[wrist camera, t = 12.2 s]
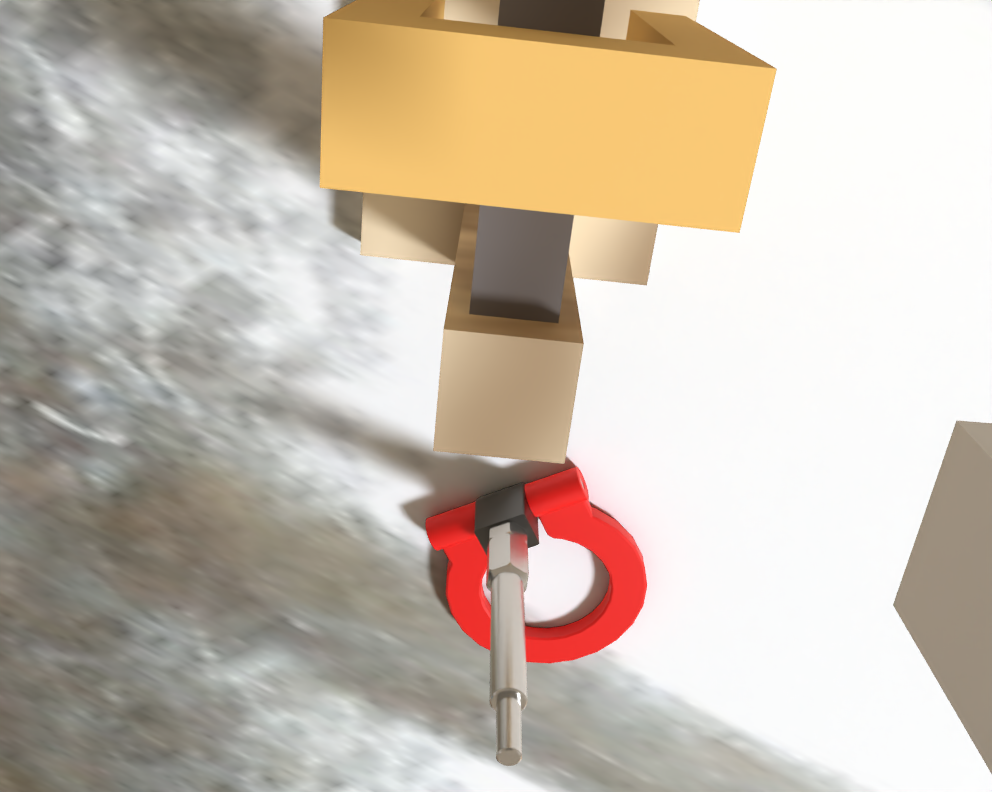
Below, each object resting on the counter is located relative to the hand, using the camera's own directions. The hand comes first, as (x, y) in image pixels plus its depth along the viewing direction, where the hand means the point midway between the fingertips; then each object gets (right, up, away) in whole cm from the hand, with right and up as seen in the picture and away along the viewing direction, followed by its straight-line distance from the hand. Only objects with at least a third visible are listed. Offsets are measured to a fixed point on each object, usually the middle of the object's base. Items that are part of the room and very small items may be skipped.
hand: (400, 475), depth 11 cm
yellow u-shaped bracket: (+2, +10, +15) cm, 18 cm away
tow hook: (+3, -6, +29) cm, 30 cm away
